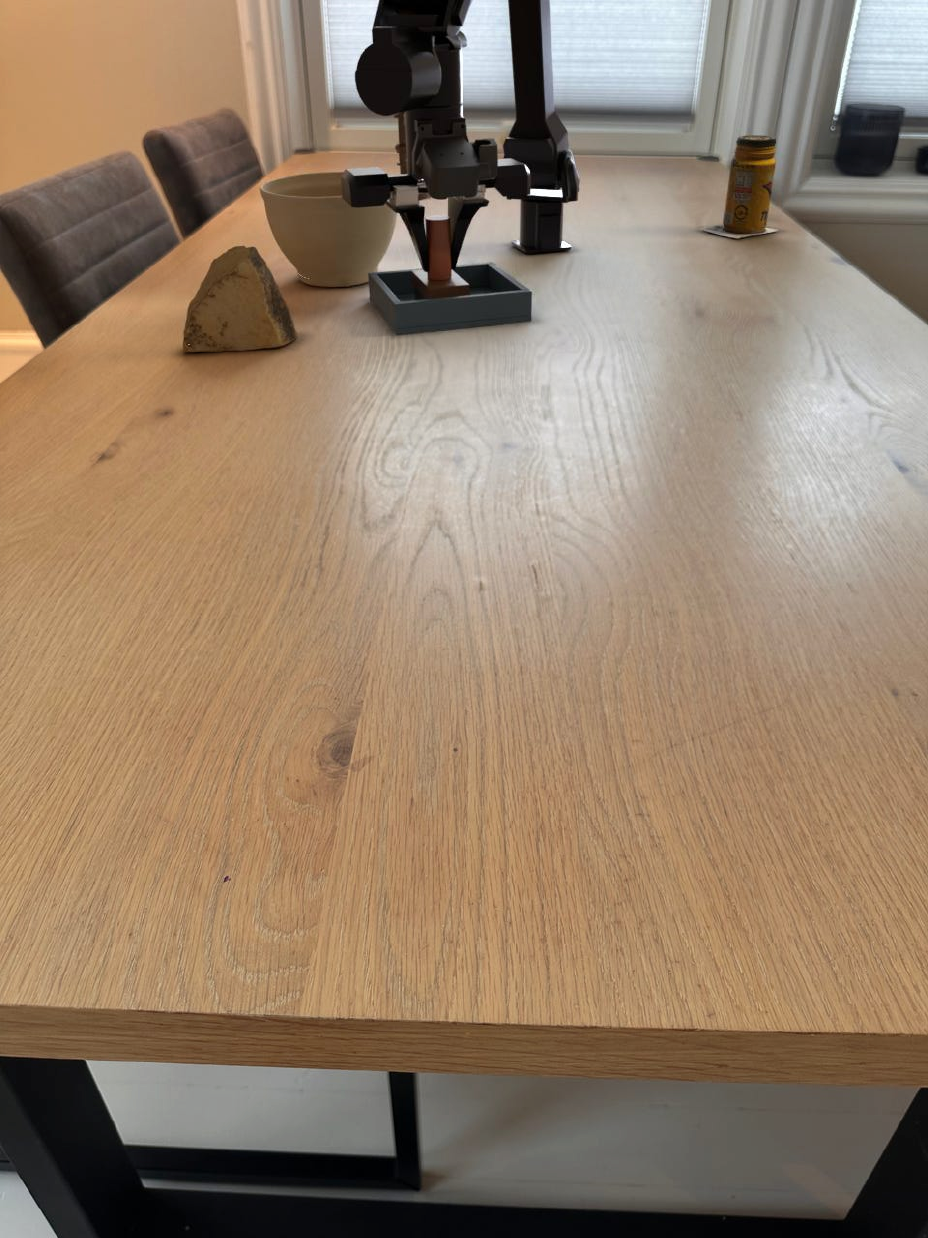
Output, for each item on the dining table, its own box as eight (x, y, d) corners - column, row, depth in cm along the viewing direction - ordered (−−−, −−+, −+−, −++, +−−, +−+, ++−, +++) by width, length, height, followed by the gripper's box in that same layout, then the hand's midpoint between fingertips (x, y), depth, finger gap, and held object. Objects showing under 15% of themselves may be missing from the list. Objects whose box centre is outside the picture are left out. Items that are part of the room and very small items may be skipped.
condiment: (778, 231, 134) (793, 137, 127) (736, 239, 130) (750, 142, 124) (740, 223, 139) (752, 132, 132) (698, 230, 135) (709, 137, 129)
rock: (152, 338, 89) (244, 330, 86) (159, 250, 89) (251, 239, 86) (217, 376, 99) (301, 370, 96) (223, 296, 100) (307, 289, 96)
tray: (369, 300, 107) (367, 272, 105) (492, 289, 110) (492, 261, 109) (396, 335, 96) (394, 304, 94) (531, 321, 99) (532, 290, 98)
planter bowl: (244, 281, 115) (231, 184, 109) (344, 257, 125) (337, 167, 119) (330, 304, 106) (320, 200, 100) (431, 276, 116) (427, 179, 110)
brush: (412, 298, 106) (408, 211, 101) (450, 294, 107) (448, 209, 102) (429, 317, 99) (426, 226, 94) (470, 313, 100) (468, 223, 95)
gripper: (354, 118, 84) (367, 297, 92) (552, 107, 88) (547, 280, 96) (333, 106, 93) (347, 270, 101) (514, 97, 97) (512, 256, 105)
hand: (438, 269), depth 101 cm, fingers closed on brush, 2 cm apart
